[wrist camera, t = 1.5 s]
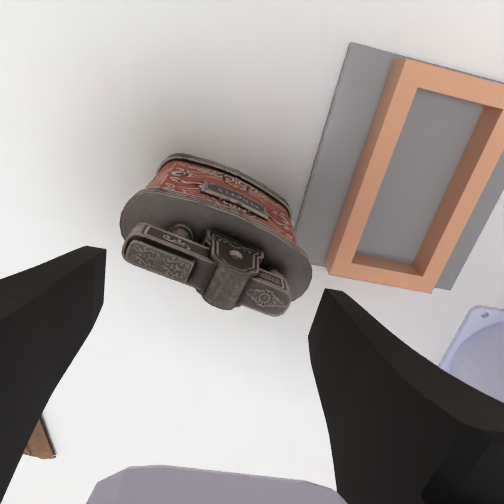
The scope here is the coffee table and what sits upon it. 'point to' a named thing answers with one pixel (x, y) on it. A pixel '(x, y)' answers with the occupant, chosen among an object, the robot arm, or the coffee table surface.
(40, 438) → the wooden fragment
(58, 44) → the coffee table surface
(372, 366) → the robot arm
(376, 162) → the holder
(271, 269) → the lighter
